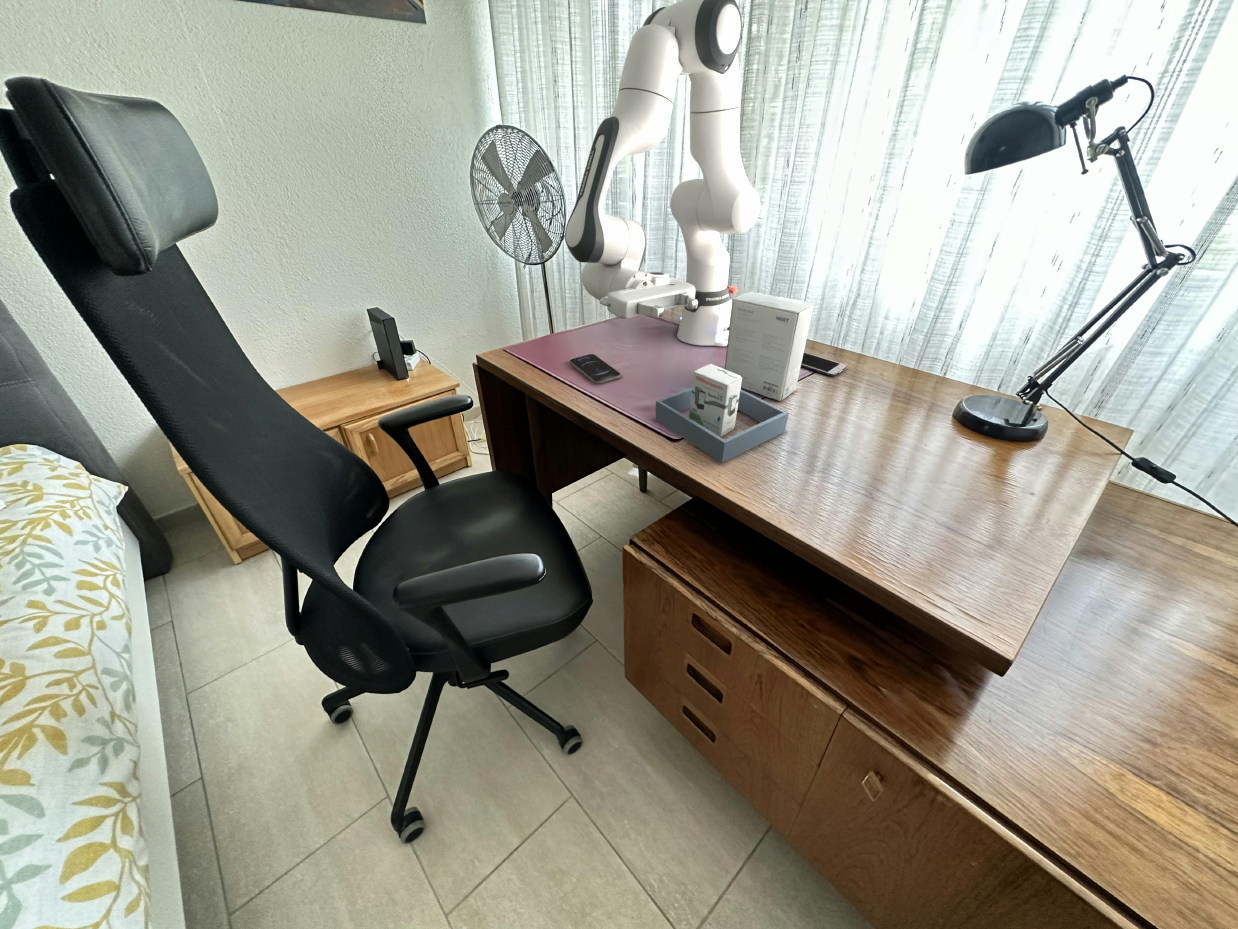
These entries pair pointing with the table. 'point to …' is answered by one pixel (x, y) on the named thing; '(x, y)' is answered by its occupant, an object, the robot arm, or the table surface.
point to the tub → (711, 442)
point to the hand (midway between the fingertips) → (678, 308)
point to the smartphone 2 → (821, 364)
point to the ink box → (715, 398)
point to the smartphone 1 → (595, 368)
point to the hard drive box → (767, 342)
